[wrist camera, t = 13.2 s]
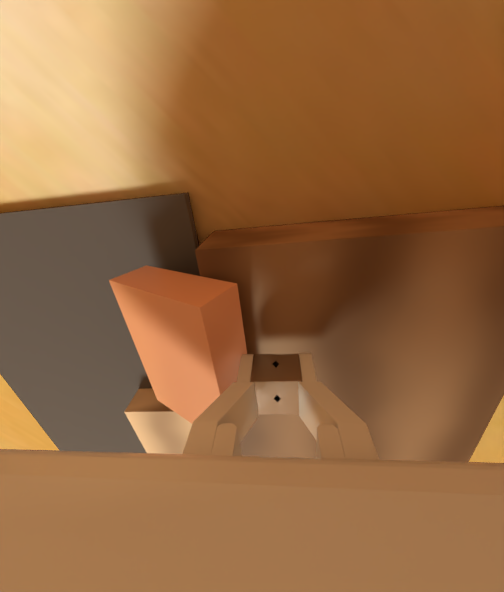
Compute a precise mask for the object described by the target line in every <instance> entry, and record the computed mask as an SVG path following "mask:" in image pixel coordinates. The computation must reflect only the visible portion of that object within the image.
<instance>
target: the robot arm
mask: <svg viewBox="0 0 504 592" xmlns="http://www.w3.org/2000/svg"><path fill="white" fill-rule="evenodd" d="M262 414H288V415H299V416H300V418H301V419H302V421H303V422H304V423H305V425H306V426H307V428H308V429H309V431H310V432H311V433H312V435H313V436H314V438H315V439H316V458H300V457H265V456H242V451H241V446H240V443H241V441H242V440H243V438H244V437H245V435H246V434H247V432H248V431H249V429H250V428H251V426H252V425H253V423H254V422H255V420H256V419H257V417H258V415H262ZM0 592H504V463H481V462H446V461H411V460H379V458H378V455H377V452H376V450H375V447H374V444H373V441H372V438H371V436H370V433H369V430H368V427H367V425H366V423H365V422H364V421H362V420H361V419H360V418H359V417H358V416H357V415H356V414H355V413H354V412H353V411H352V410H351V409H350V408H348V407H347V406H346V405H345V404H344V403H343V402H342V401H341V400H340V399H339V398H338V397H337V396H336V395H334V394H333V393H332V392H331V391H330V390H329V389H328V388H327V387H326V386H325V385H324V384H323V383H322V382H317V379H316V374H315V369H314V364H313V359H312V354H311V353H299V354H298V353H294V354H242V356H241V360H240V366H239V371H238V377H237V382H233V383H232V384H231V385H230V386H229V387H228V388H227V389H226V390H225V391H224V392H223V393H222V394H221V395H220V396H219V397H218V398H217V399H216V400H215V401H214V402H213V403H212V404H211V405H210V406H209V407H208V408H207V409H206V410H205V411H204V412H203V413H201V414H200V415H199V416H198V417H197V418H196V419H195V420H194V421H193V424H192V427H191V430H190V433H189V436H188V439H187V442H186V445H185V448H184V451H183V454H159V453H123V452H87V451H51V450H15V449H0Z"/></svg>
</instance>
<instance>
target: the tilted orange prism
mask: <svg viewBox="0 0 504 592" xmlns="http://www.w3.org/2000/svg"><path fill="white" fill-rule="evenodd" d="M109 282H110V285H111V287H112V289H113V292H114V294H115V297H116V299H117V302H118V304H119V307H120V309H121V312H122V314H123V317H124V319H125V322H126V324H127V326H128V329H129V331H130V334H131V336H132V339H133V341H134V344H135V346H136V349H137V351H138V354H139V356H140V359H141V361H142V363H143V366H144V368H145V371H146V373H147V376H148V378H149V381H150V383H151V386H152V388H153V391H154V393H155V396H156V398H157V400H158V401H160V402H161V403H163V404H164V405H165V406H167V407H168V408H170V409H171V410H173V411H174V412H176V413H177V414H179V415H180V416H181V417H183V418H184V419H186V420H187V421H189V422H190V423H192V424H193V421H194V420H195V419H196V418H197V417H198V416H199V415H200V414H201V413H203V412H204V411H205V410H206V409H207V408H208V407H209V406H210V405H211V404H212V403H213V402H214V401H215V400H216V399H217V398H218V397H219V396H220V395H221V394H222V393H223V392H224V391H225V390H226V389H227V388H228V387H229V386H230V385H231V384H232V383H233V382H237V377H238V371H239V366H240V360H241V356H242V354H247V349H246V342H245V335H244V328H243V321H242V314H241V307H240V300H239V293H238V286H237V283H232V282H227V281H222V280H217V279H212V278H207V277H202V276H197V275H192V274H187V273H182V272H177V271H172V270H167V269H162V268H157V267H152V266H147V265H146V266H144V267H141V268H139V269H136V270H133V271H131V272H128V273H126V274H123V275H121V276H118V277H115V278H113V279H110V280H109ZM256 420H257V419H256ZM256 420H255V421H256ZM253 424H254V423H253ZM251 427H252V426H251ZM249 430H250V429H249Z"/></svg>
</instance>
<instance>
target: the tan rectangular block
mask: <svg viewBox="0 0 504 592" xmlns="http://www.w3.org/2000/svg"><path fill="white" fill-rule="evenodd" d="M125 414H126V416H127V418H128V420H129V421H130V423H131V425H132V427H133V429H134V431H135V432H136V434H137V436H138V438H139V440H140V441H141V443H142V445H143V447H144V449H145V451H146V452H147V453H159V454H183V451H184V448H185V445H186V442H187V439H188V436H189V433H190V430H191V427H192V423H190V422H189V421H187V420H186V419H184V418H183V417H181V416H180V415H179V414H177V413H176V412H174V411H173V410H171V409H170V408H168V407H167V406H165V405H164V404H163V403H161V402H160V401H158V400H157V398H156V396H155V393H154V391H153V388H152V389H138V391H137V392H136V394H135V396H134V397H133V399H132V400H131V402H130V404H129V405H128V407H127V408H126V410H125Z"/></svg>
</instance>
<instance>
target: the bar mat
mask: <svg viewBox="0 0 504 592" xmlns="http://www.w3.org/2000/svg"><path fill="white" fill-rule="evenodd" d="M198 247H199V243H198V239H197V234H196V229H195V224H194V219H193V214H192V210H191V205H190V200H189V195H188V193H181V194H172V195H162V196H153V197H144V198H135V199H126V200H117V201H107V202H98V203H89V204H80V205H71V206H62V207H52V208H43V209H34V210H25V211H16V212H7V213H0V374H1V375H2V377H3V378H4V379H5V381H6V382H7V383H8V384H9V386H10V387H11V388H12V390H13V391H14V392H15V393H16V395H17V396H18V397H19V399H20V400H21V401H22V402H23V404H24V405H25V406H26V408H27V409H28V410H29V411H30V413H31V414H32V415H33V417H34V418H35V419H36V421H37V422H38V423H39V424H40V426H41V427H42V428H43V430H44V431H45V432H46V433H47V435H48V436H49V437H50V439H51V440H52V441H53V442H54V444H55V445H56V446H57V448H58V449H59V450H60V451H87V452H123V453H147V452H146V451H145V449H144V447H143V445H142V443H141V441H140V440H139V438H138V436H137V434H136V432H135V431H134V429H133V427H132V425H131V423H130V421H129V420H128V418H127V416H126V414H125V410H126V408H127V407H128V405H129V404H130V402H131V400H132V399H133V397H134V396H135V394H136V392H137V391H138V389H152V386H151V383H150V381H149V378H148V376H147V373H146V371H145V368H144V366H143V363H142V361H141V359H140V356H139V354H138V351H137V349H136V346H135V344H134V341H133V339H132V336H131V334H130V331H129V329H128V326H127V324H126V322H125V319H124V317H123V314H122V312H121V309H120V307H119V304H118V302H117V299H116V297H115V294H114V292H113V289H112V287H111V285H110V282H109V280H110V279H113V278H115V277H118V276H121V275H123V274H126V273H128V272H131V271H133V270H136V269H139V268H141V267H144V266H146V265H147V266H152V267H157V268H162V269H167V270H172V271H177V272H182V273H187V274H192V275H197V276H200V272H199V268H198V263H197V258H196V254H195V250H196V249H197V248H198Z"/></svg>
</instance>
